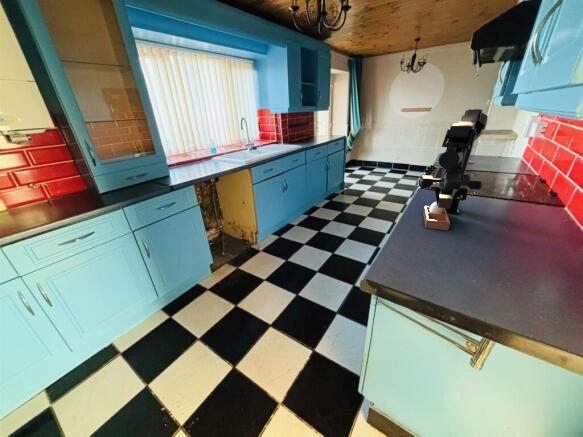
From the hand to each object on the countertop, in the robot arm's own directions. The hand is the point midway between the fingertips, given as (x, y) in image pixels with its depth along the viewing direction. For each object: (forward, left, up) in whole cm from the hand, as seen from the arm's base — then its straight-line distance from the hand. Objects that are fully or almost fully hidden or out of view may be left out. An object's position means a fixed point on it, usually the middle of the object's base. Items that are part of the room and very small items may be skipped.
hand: (443, 203), depth 90 cm
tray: (-4, -1, -10) cm, 10 cm away
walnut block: (0, 0, -1) cm, 1 cm away
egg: (-8, -1, -9) cm, 12 cm away
